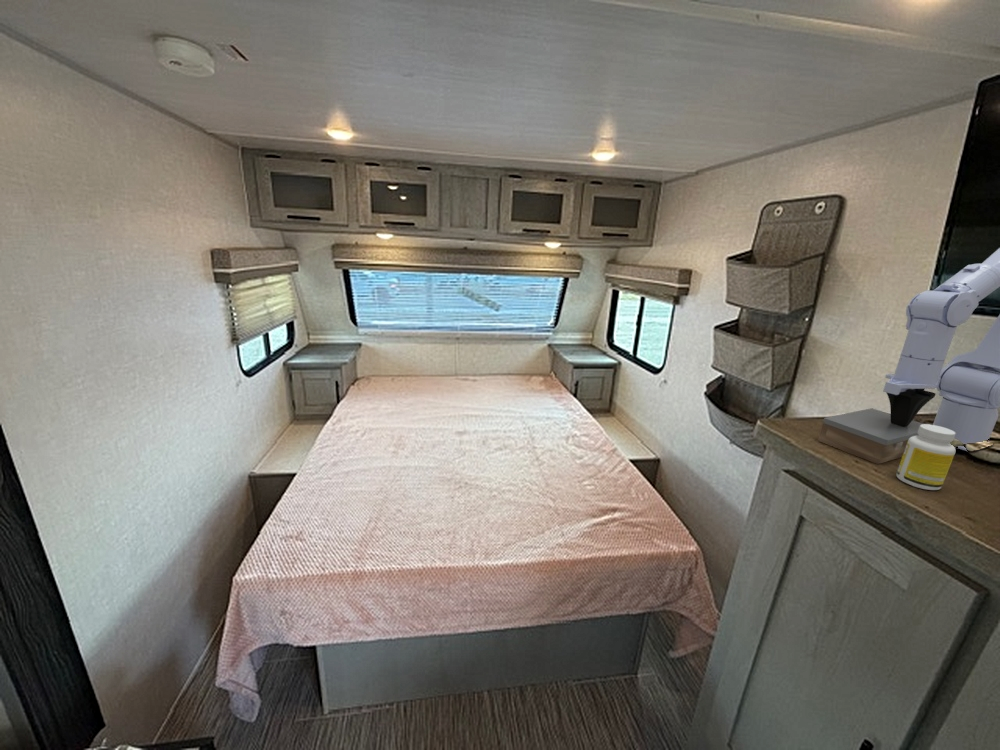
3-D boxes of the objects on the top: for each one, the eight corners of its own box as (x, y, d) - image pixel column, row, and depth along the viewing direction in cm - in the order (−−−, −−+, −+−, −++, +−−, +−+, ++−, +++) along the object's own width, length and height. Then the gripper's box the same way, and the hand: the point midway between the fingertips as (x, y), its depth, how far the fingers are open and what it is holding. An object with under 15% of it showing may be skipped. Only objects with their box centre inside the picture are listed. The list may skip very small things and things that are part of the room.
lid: (870, 412, 86) (872, 408, 85) (935, 432, 76) (936, 427, 76) (822, 422, 80) (823, 418, 79) (886, 445, 71) (888, 440, 70)
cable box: (864, 429, 87) (869, 413, 86) (928, 451, 77) (935, 432, 76) (818, 440, 81) (823, 422, 80) (880, 465, 72) (887, 445, 71)
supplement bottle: (950, 493, 63) (973, 437, 61) (911, 489, 64) (931, 434, 62) (923, 475, 68) (943, 423, 66) (887, 472, 70) (904, 420, 67)
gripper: (915, 350, 80) (894, 412, 83) (873, 354, 74) (852, 421, 78) (965, 358, 73) (939, 425, 77) (922, 364, 68) (897, 436, 72)
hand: (898, 424), depth 77 cm, fingers closed, pressing on lid
